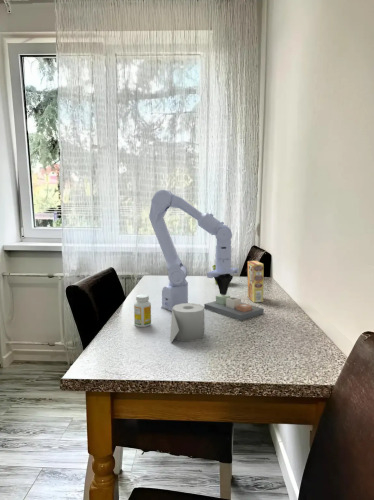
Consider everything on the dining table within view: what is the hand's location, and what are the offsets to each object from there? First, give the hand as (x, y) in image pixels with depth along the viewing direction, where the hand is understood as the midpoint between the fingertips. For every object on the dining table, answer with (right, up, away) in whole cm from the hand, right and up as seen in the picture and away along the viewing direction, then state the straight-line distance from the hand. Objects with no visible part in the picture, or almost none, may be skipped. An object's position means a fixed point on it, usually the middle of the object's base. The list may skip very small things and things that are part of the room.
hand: (223, 294), depth 135 cm
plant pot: (+3, 0, +40) cm, 41 cm away
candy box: (+14, -4, +12) cm, 19 cm away
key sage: (0, -4, 0) cm, 4 cm away
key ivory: (+3, -4, -4) cm, 6 cm away
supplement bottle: (-28, -8, -17) cm, 34 cm away
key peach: (+7, -6, -7) cm, 12 cm away
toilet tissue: (-14, -9, -28) cm, 32 cm away
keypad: (+3, -6, -3) cm, 7 cm away
